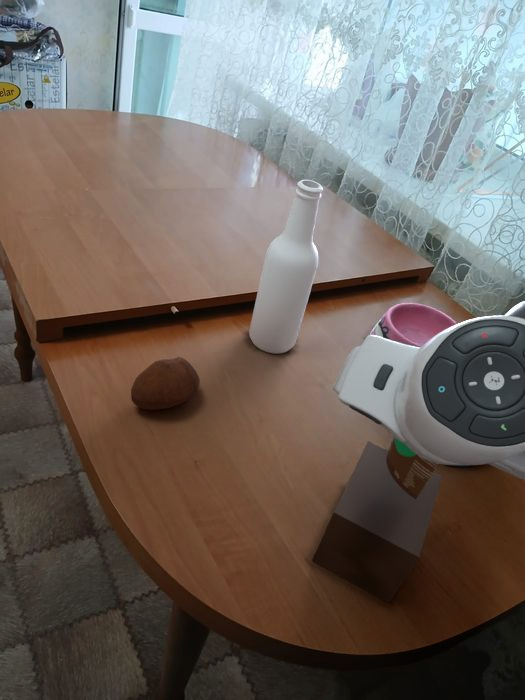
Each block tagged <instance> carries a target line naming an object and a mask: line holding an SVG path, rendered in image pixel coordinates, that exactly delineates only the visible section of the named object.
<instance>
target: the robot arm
mask: <svg viewBox="0 0 525 700" xmlns="http://www.w3.org/2000/svg"><path fill="white" fill-rule="evenodd" d="M332 390H333V392H334V393H336V394H337V395H338V396H337V398H338V400H339V402H341V403H342V404H343V405H346V406H347V407H348V408H350V409H351V410H353V411H355V412H357V413H358V414H361V415H362V416H363V417H366V418H368V419H369V420H370V421H372V422H373V423H375V424H376V425H378V426H379V425H380V426H382V428H384V429H385V430H386V431H388V432H389V433H390V434H391V435H392V436H393V438H394V437H395V438H397V439H398V440H399V441H400V442H402V443H405V444H406V445H407V446H408V447H409V448H410V449H411V450H412V451H413V452H414V453H416V454H417V455H418V456H420V457H422V458H424V459H426V460H428V461H431V462H434V463H438V465H444V466H452V465H470V466H480V465H490V466H492V467H494V468H496V469H498V470H500V471H502V472H504V473H506V474H508V475H511V476H513V477H515V478H517V479H520V480H522V481H524V482H525V300H524V301H521V302H519V303H518V304H516V305H514V306H513V307H512V308H511V309H510V310H508V311H507V312H506V313H505V314H504V315H488V316H481V317H475V318H471V319H468V320H464V321H461V322H459V323H457V324H456V325H454V326H451V327H449V328H447V329H445V330H443V331H442V332H440V333H438V334H437V335H435V336H434V337H433V338H431V339H430V340H429V341H427V342H426V343H425V344H424V345H423V346H422V347H421V348H420V347H414V346H410V345H407V344H403V343H400V342H396V341H393V340H390V339H386V338H382V337H379V336H375V335H369V334H368V335H367V336H366V337H365V339H364V341H363V342H362V343H361V345H357V346H355V347H354V348H352V349H351V351H349V353H348V356H347V357H346V359H345V361H344V363H343V365H342V367H341V369H340V371H339V373H338V375H337V378H336V380H335V381H334V384H333V386H332Z"/></svg>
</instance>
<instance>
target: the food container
mask: <svg viewBox="0 0 525 700" xmlns="http://www.w3.org/2000/svg"><path fill="white" fill-rule="evenodd" d="M389 445H390V446H389V448H388V449H387V450H388V452H387V457H386V462H387V467H388V470H389V472H390V474H391V476H392V477H393V479H394V480H395V482H396V483H397V484H398V485H399V486H400V487H401V488H402V489H403V490H404V491H405V492H406V493H407V494H409V495H410V496H411V497H413V498H414V499H417V497H418V496H419V494H420V492H421V491H422V489H423V488H424V486H425V485H426V483H427V481H428V480H429V478H430V477H431V475H432V473H435V471H436V469H437V467H438V465H439V464H438V463H434V462H431V461H428V460H426V459H424V458H422V457H420V456H418V455H417V454H416V453H414V452H413V451H412V450H411V449H410V448H409V447H408V446H407V445H406V444H405V443H402V442H400V441H399V440H398V439H397V438H395V437H394V436H393V438H392V440H391V442H390V444H389Z"/></svg>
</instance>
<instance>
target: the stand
mask: <svg viewBox="0 0 525 700" xmlns="http://www.w3.org/2000/svg"><path fill="white" fill-rule="evenodd" d="M388 450H389V449H386V448H384V447H383V446H379V445H378V444H375V443H373V442H372V441H370V440H368V441H367V442H366V444H365V446H364V448H363V450H362V453H361V454H360V457H359V459H358V461H357V463H356V465H355V467H354V469H353V471H352V474H351V475H350V478H349V479H348V481H347V484H346V486H345V488H344V490H343V492H342V494H341V496H340V498H339V501H338V502H337V504H336V507H335V509H334V510H333V513H332V515H331V518H330V519H329V522H328V524H327V526H326V529H325V531H324V532H323V535H322V538H321V540H320V541H319V544H318V546H317V549H316V551H315V552H314V555H313V558H312V562H314V563H316V564H318V565H319V566H321V567H323V568H325V569H326V570H328V571H330V572H332V573H333V574H336V575H337V576H339V577H341V578H342V579H344V580H346V581H348V582H350V583H351V584H353V585H355V586H357V587H358V588H360V589H362V590H364V591H366V592H367V593H369V594H371V595H373V596H375V597H376V598H378V599H380V600H382V601H383V602H386V603H387V604H389V603H390V602H391V601H392V599H393V598H394V596H395V595H396V593H397V592H398V590H399V588H400V587H401V586H402V585H403V583H404V581H405V580H406V578H407V576H408V575H409V574H410V572H411V571H412V569H413V568H414V566H415V565H416V563H417V562H418V560H419V558H420V557H421V553H422V549H423V545H424V543H425V539H426V535H427V532H428V529H429V525H430V521H431V518H432V514H433V511H434V507H435V504H436V500H437V497H438V494H439V490H440V487H441V484H442V479H443V476H442V475H439V474H438V473H435V472H433V473H432V475H431V477H430V478H429V480H428V481H427V483H426V485H425V486H424V488H423V489H422V491H421V492H420V494H419V496H418V497H417V499H414V498H413V497H411V496H410V495H409V494H407V493H406V492H405V491H404V490H403V489H402V488H401V487H400V486H399V485H398V484H397V483H396V482H395V480H394V479H393V477H392V476H391V474H390V472H389V470H388V467H387V462H386V457H387V452H388Z"/></svg>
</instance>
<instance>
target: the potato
mask: <svg viewBox="0 0 525 700" xmlns="http://www.w3.org/2000/svg"><path fill="white" fill-rule="evenodd" d="M200 383H201V379H200V377H199V374H198V372H197V370H196V369H195V368H194V367H193V365H192V364H191V363H190V362H189V361H188V360H187V359H185V358H184V357H181V356H177V357H173V358H168V359H167V358H165V359H164V358H163V359H158V360H155V361H154V362H152V363H151V364H150V365H149V366H147V368H145V369H144V370H143V371H142V372H141V373H139V374H138V375H137V376H136V378H135V379H134V382H133V384H132V386H131V389H130V397H131V402H132V403H133V405H135V406H137V407H139V408H140V409H142V410H147V411H152V410H153V411H154V410H155V411H156V410H164V409H165V410H166V409H170V408H173V407H176V406H178V405H180V404H183V403H184V402H186V401H188V400H190V399H191V398H193V396H195V395H196V394H197V392H198V390H199V388H200Z"/></svg>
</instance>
